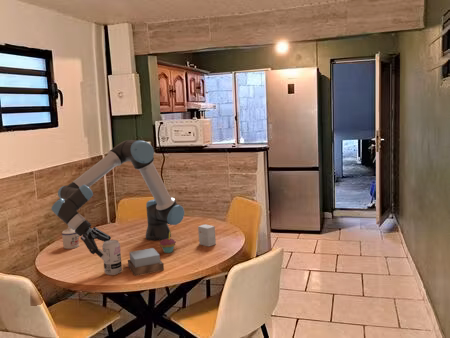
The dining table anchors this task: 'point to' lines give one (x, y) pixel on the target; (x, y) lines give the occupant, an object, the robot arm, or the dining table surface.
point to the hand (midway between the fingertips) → (113, 255)
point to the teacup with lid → (70, 238)
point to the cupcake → (167, 244)
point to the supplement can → (112, 257)
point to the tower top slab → (144, 257)
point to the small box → (206, 235)
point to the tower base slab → (145, 268)
